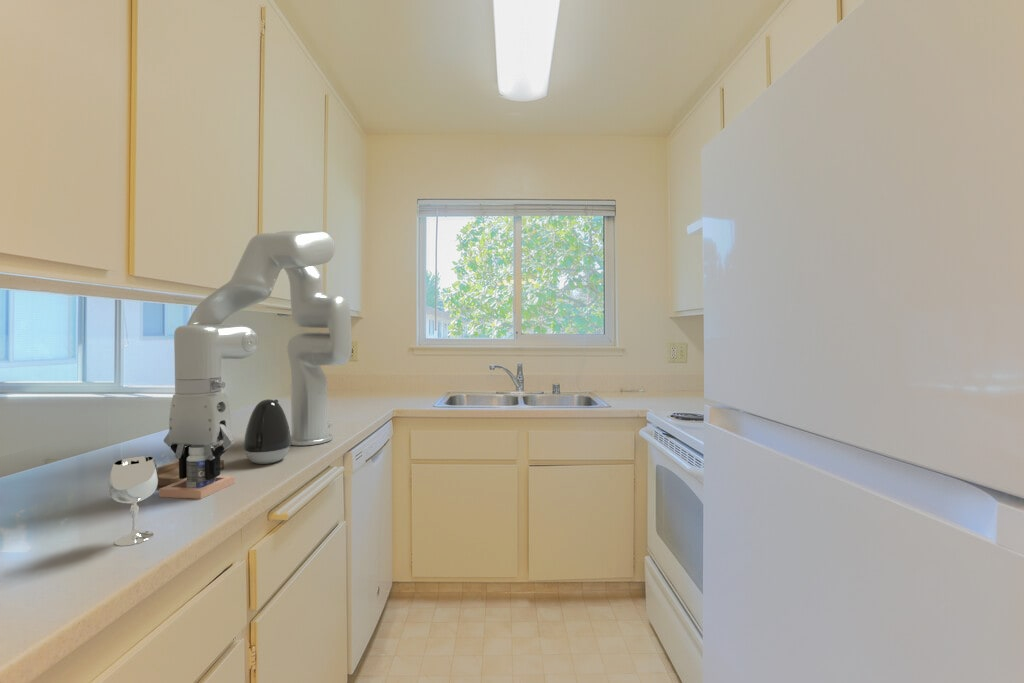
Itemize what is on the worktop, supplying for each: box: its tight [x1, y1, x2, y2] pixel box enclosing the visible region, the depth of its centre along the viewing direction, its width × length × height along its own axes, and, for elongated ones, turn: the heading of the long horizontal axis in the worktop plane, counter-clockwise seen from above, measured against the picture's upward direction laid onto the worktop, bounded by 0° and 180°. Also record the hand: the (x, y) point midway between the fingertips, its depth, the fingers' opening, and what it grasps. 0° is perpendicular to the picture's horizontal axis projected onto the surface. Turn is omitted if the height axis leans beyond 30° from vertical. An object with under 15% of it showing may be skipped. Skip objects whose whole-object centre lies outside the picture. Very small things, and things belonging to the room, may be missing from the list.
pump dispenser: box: [243, 399, 292, 465], centre depth 106 cm, size 10×10×15 cm
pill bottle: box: [187, 445, 215, 488], centre depth 87 cm, size 5×5×8 cm
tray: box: [157, 459, 225, 489], centre depth 94 cm, size 13×10×2 cm
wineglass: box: [108, 455, 159, 547], centre depth 66 cm, size 6×6×12 cm
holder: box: [158, 475, 235, 500], centre depth 87 cm, size 9×9×2 cm
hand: (199, 476), depth 87 cm, fingers closed on pill bottle, 4 cm apart
